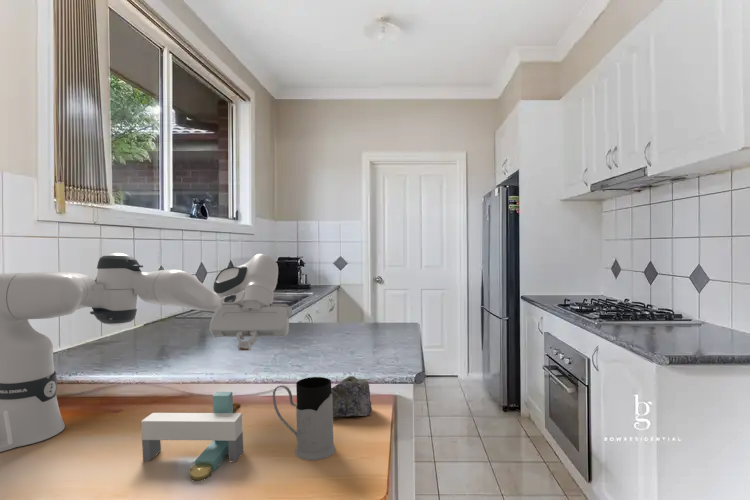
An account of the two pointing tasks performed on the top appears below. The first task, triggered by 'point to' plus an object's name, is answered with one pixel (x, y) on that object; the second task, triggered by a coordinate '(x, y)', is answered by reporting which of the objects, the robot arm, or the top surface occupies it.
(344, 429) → the top surface
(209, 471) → the token
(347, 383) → the mineral rock
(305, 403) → the glass holder
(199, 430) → the white bench
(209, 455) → the block
